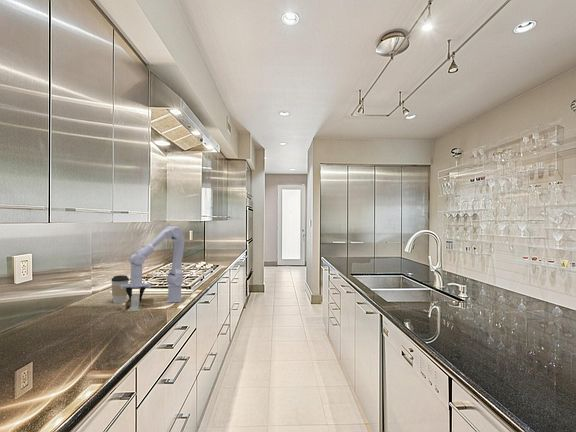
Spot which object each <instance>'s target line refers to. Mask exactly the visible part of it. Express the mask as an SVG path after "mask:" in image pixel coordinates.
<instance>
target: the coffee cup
mask: <svg viewBox="0 0 576 432" xmlns="http://www.w3.org/2000/svg"><path fill="white" fill-rule="evenodd" d="M129 280H130V277H129V276H128V275H126V274H125V275H114V276H113V277H112V278H111V295H112V303H113V304H123V303H124V302H125V300H126V299H128V294H127V292H126V288H123V289H121V285H123V284H129Z"/></svg>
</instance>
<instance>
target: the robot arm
mask: <svg viewBox="0 0 576 432" xmlns="http://www.w3.org/2000/svg"><path fill="white" fill-rule="evenodd" d="M166 239H171V240H173V242H174V247H173V254H172V255H173V256H172V262H171V268H170V270H169V272H168V275H167V276H166V282H167V283H168V284H167V285H168V288H167V289H168V290H167V291H168V292H167V297H168V298H167V299H166V303H181V302H182V301H183V299H182V298H183V297H182V285H183V283H184V281H185V280H184V272H183V271H182V267H183V265H182V264H183V257H184V250H185V243H186V239H185V236H184V231H183V229H182V228H181V227H179V226H174V225H172V226H171V225H168V226H166V227H165V228H164V229H162V230H161V232H160V233H159V234H157V236H156V237H155V238H154V239H152V241H150V242H149V243H145V244H143V245H142V247H141V248H140V249H138V250H137V251H136V252H135V253H133V254H131V256H130V258H128V262H129V263H130V277H129V280H130V283H128V284H123V285H121V289H123V288H126V292H127V297H128V299H130V302H131V295H133V289H139V295H140V299H139V302H141V299H143V295H144V292H145V290H146V288H148V289H151V287H152V284H151V283H145V282H144V283H143V264H144V263H145V260H146V259H147V258H148V257H149V256H150V255H151V254H153V252H154V251H155V248H156V247H157V246H159V245H160V244H161V243H162V242H163V241H164V240H166Z"/></svg>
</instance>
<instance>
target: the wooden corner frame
mask: <svg viewBox="0 0 576 432" xmlns="http://www.w3.org/2000/svg"><path fill="white" fill-rule="evenodd" d="M130 305H131V302H130V299H129V298H127V299H126V300H125V302H124V303H121V310H120V311H121V313H125V312H127V313H129V312H131V311H130ZM153 305H154V297H148V298H147V297H146V298H145V297H144V298H143V297H142V299H141V302H140V305H139V309H138V310H136V311H135V312H140V311H141V309H142V307H143V306H153ZM128 307H129V308H128ZM127 308H128V309H127ZM126 310H127V311H126Z"/></svg>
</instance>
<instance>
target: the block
mask: <svg viewBox="0 0 576 432" xmlns="http://www.w3.org/2000/svg"><path fill="white" fill-rule="evenodd" d="M139 299H140V294H132V295H131V305H130V306H129V307H130V312H137V311H136V310H138V309H139V306H141V305H140V302H139Z"/></svg>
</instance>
